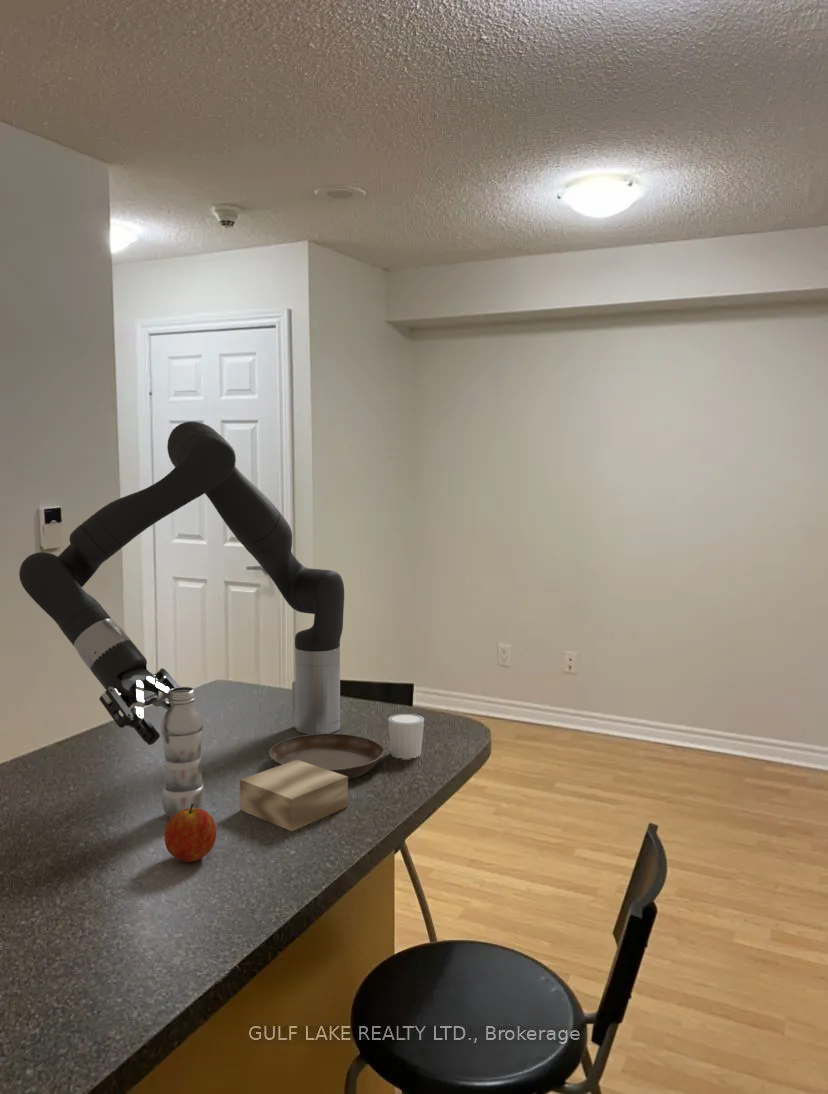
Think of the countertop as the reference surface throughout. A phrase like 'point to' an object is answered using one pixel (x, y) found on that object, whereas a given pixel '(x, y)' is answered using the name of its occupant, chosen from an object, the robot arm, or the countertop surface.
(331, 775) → the block
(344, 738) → the plant saucer
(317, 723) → the robot arm
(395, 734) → the white cup
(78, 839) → the countertop surface
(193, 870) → the countertop surface
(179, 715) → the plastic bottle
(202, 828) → the fruit
